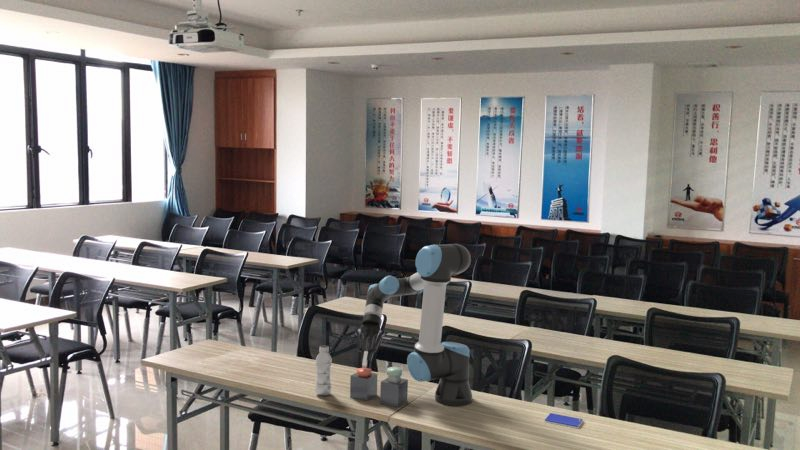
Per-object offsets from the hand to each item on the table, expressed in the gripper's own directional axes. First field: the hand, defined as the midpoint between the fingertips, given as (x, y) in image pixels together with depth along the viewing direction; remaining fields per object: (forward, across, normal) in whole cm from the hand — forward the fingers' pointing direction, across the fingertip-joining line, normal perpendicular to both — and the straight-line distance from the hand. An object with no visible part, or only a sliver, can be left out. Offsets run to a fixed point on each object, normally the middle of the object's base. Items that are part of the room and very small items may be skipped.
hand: (364, 366), depth 280 cm
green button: (+9, -13, -2) cm, 16 cm away
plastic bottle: (+10, +16, -8) cm, 21 cm away
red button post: (+9, 0, -8) cm, 12 cm away
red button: (+8, 0, -7) cm, 11 cm away
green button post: (+12, -13, -5) cm, 19 cm away
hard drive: (+17, -79, 0) cm, 81 cm away
